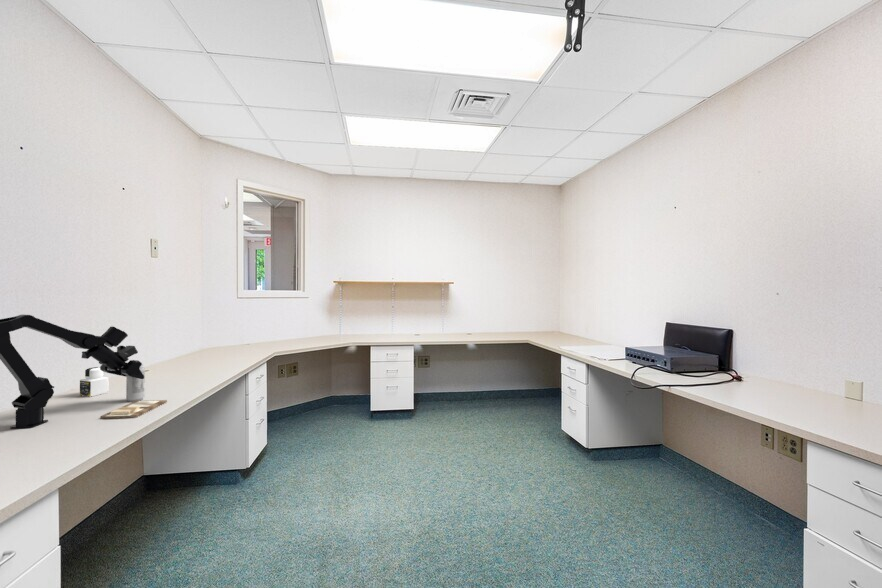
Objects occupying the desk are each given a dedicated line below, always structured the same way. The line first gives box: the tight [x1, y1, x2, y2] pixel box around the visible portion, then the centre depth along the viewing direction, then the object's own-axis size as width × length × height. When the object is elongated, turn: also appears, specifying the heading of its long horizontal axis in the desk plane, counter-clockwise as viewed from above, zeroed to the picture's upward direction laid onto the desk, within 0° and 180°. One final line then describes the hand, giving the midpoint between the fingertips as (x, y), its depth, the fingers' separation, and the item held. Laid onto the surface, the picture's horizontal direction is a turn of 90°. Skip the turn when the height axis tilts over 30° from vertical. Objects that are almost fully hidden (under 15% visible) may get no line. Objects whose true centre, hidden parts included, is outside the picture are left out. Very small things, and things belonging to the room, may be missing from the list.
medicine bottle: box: [79, 366, 110, 398], centre depth 165 cm, size 7×7×12 cm
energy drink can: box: [125, 363, 146, 403], centre depth 156 cm, size 6×6×15 cm
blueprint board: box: [99, 399, 168, 420], centre depth 143 cm, size 20×12×2 cm, turn 9°
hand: (136, 377), depth 157 cm, fingers open, 9 cm apart
